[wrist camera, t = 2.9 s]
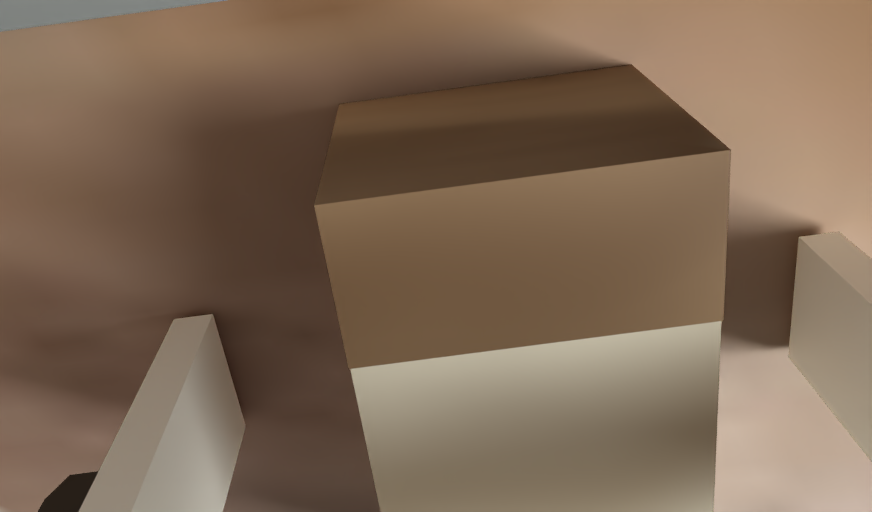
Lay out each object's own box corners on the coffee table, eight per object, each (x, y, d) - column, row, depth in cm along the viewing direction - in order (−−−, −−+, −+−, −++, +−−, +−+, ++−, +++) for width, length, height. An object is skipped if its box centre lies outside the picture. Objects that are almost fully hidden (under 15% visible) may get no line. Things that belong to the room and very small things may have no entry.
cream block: (637, 502, 18) (707, 688, 14) (417, 529, 18) (423, 723, 14) (631, 64, 14) (730, 149, 9) (339, 103, 14) (314, 205, 10)
